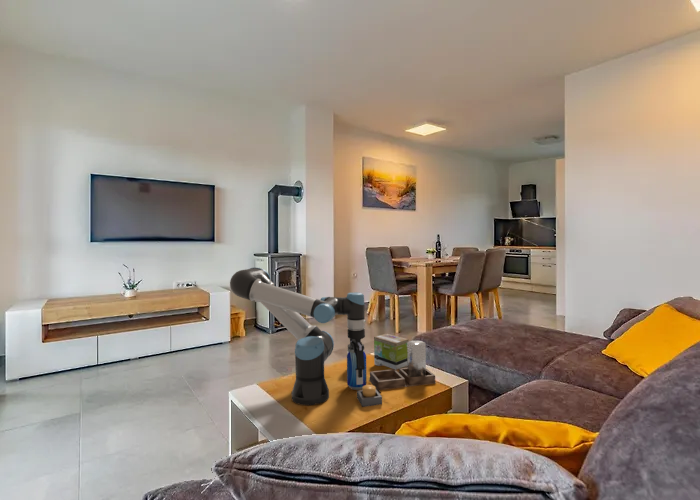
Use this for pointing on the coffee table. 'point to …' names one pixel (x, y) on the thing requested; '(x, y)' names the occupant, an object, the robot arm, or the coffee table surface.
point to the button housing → (369, 399)
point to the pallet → (398, 379)
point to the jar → (349, 348)
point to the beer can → (354, 371)
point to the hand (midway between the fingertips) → (356, 379)
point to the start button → (369, 391)
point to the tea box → (390, 351)
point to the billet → (416, 358)
